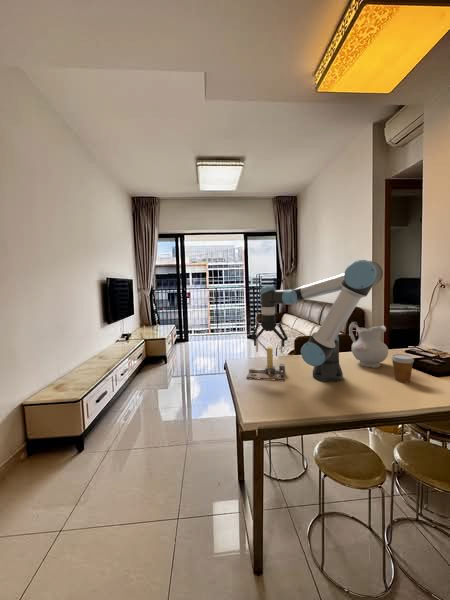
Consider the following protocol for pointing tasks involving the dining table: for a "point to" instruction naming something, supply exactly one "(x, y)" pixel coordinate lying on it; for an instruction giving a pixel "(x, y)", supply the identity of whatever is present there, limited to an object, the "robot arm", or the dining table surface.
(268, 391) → the dining table surface
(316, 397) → the dining table surface
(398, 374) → the disposable coffee cup
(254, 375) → the pitch board
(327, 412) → the dining table surface
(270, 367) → the sliding leg
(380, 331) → the ceramic pitcher
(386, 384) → the dining table surface
